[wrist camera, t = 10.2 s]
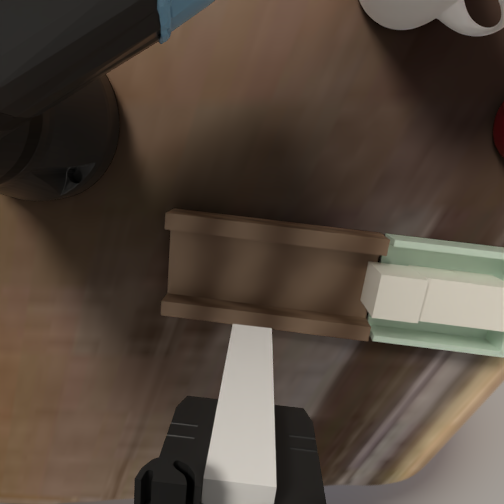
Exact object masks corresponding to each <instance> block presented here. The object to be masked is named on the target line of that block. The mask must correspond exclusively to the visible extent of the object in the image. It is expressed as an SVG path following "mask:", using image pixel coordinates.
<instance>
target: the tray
mask: <svg viewBox="0 0 504 504" xmlns="http://www.w3.org/2000/svg"><path fill="white" fill-rule="evenodd" d="M385 236H386V237H387V238H389V239H390V243H389V248H388V252H387V256H382V255H381V256H380V261H379V263H387V264H396V265H404V266H408V265H414V266H422V267H430V268H438V269H446V270H457V271H465V272H472V273H480V274H488V275H493V276H495V277H497V278H499V279H501V280H503V281H504V247H496V246H488V245H479V244H471V243H462V242H454V241H446V240H437V239H429V238H420V237H412V236H404V235H395V234H387V233H385ZM367 321H368V323H369V324H370V326H371V330H370V337H371V339H372V341H376V342H384V343H392V344H400V345H408V346H416V347H423V348H431V349H439V350H447V351H455V352H463V353H471V354H479V355H487V356H495V357H503V358H504V332H501V331H493V330H486V329H478V328H470V327H462V326H454V325H446V324H438V323H430V322H422V321H418V323H410V322H402V321H394V320H386V319H378V318H372V317H371V315H370V314H369V312H368V317H367Z"/></svg>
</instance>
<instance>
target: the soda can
mask: <svg viewBox="0 0 504 504" xmlns="http://www.w3.org/2000/svg"><path fill="white" fill-rule="evenodd" d="M493 139H494V143H495V146H496V148H497V150H498V152H499V153H500V154H501V156H502V157H503V158H504V102H503V103H502V104H501V106H500V108H499V110H498V112H497V114H496V117H495V120H494V125H493Z"/></svg>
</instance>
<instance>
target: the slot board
mask: <svg viewBox="0 0 504 504" xmlns="http://www.w3.org/2000/svg"><path fill="white" fill-rule="evenodd" d="M165 229H166V230H170V250H169V269H168V289H167V294H166V296H165V297H164V298H163V299H162V301H161V315H162V316H170V317H178V318H186V319H194V320H202V321H210V322H218V323H226V324H239V325H248V326H256V327H265V328H272V329H273V330H281V331H289V332H297V333H305V334H313V335H321V336H329V337H336V338H344V339H352V340H360V341H368V339H369V335H370V330H371V326H370V324H369V323H368V321H367V319H366V314H367V309H366V308H365V306H364V305H363V303H362V302H361V300H360V299H361V295H362V290H363V285H364V280H365V276H366V271H367V266H368V261H371V262H378V258H379V255H382V256H387V252H388V248H389V243H390V239H389V238H387V237H386V236H384V235H383V234H381V233H378V232H370V231H361V230H353V229H345V228H336V227H328V226H319V225H311V224H303V223H294V222H286V221H277V220H269V219H260V218H252V217H244V216H235V215H227V214H218V213H210V212H201V211H193V210H185V209H176V208H174V209H172V210H170V211H168V212H166V213H165Z"/></svg>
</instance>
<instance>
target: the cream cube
mask: <svg viewBox="0 0 504 504" xmlns="http://www.w3.org/2000/svg"><path fill="white" fill-rule="evenodd" d="M451 271H453V272H454V273H456V274H458V275H459V276H461V277H463V278H464V279H466V280H468V281H469V282H471V283H473V286H472V290H471V293H470V297H469V300H468V304H467V307H466V311H465V314H464V318H463V321H462V325H461V326H462V327H470V328H478V329H486V330H493V331H501V332H504V281H503V280H501V279H499V278H497V277H495V276H493V275H488V274H480V273H472V272H465V271H457V270H451Z"/></svg>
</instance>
